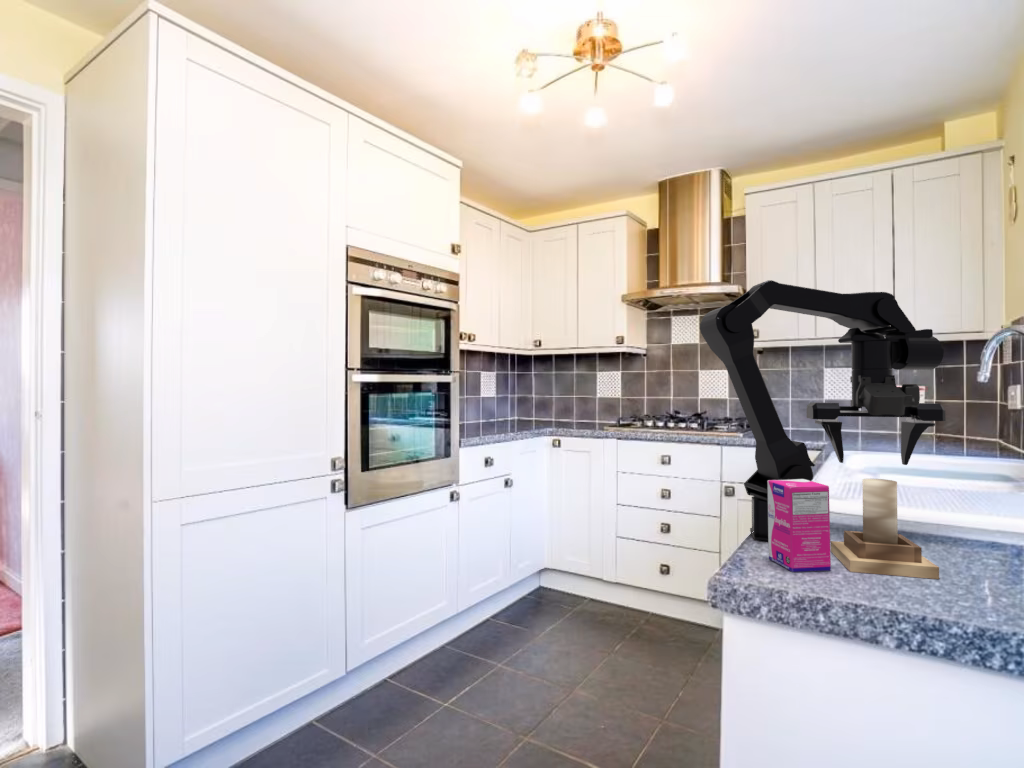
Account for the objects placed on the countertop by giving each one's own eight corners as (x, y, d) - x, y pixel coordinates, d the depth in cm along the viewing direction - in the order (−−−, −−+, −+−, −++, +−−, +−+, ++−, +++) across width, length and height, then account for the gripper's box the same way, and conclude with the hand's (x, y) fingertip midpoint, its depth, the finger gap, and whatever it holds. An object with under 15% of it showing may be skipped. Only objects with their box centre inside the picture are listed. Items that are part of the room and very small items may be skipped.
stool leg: (868, 555, 75) (867, 482, 76) (859, 548, 79) (858, 478, 80) (902, 558, 74) (901, 483, 75) (891, 550, 78) (890, 479, 78)
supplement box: (766, 559, 79) (766, 479, 79) (806, 558, 79) (805, 478, 80) (790, 572, 73) (789, 485, 73) (832, 571, 74) (832, 485, 74)
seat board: (850, 571, 73) (849, 545, 74) (830, 551, 83) (830, 527, 83) (939, 579, 70) (938, 551, 71) (908, 557, 80) (908, 532, 80)
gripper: (820, 368, 87) (821, 467, 87) (961, 366, 82) (963, 472, 82) (805, 371, 98) (806, 459, 98) (929, 370, 92) (930, 463, 92)
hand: (872, 463), depth 92 cm, fingers open, 9 cm apart
